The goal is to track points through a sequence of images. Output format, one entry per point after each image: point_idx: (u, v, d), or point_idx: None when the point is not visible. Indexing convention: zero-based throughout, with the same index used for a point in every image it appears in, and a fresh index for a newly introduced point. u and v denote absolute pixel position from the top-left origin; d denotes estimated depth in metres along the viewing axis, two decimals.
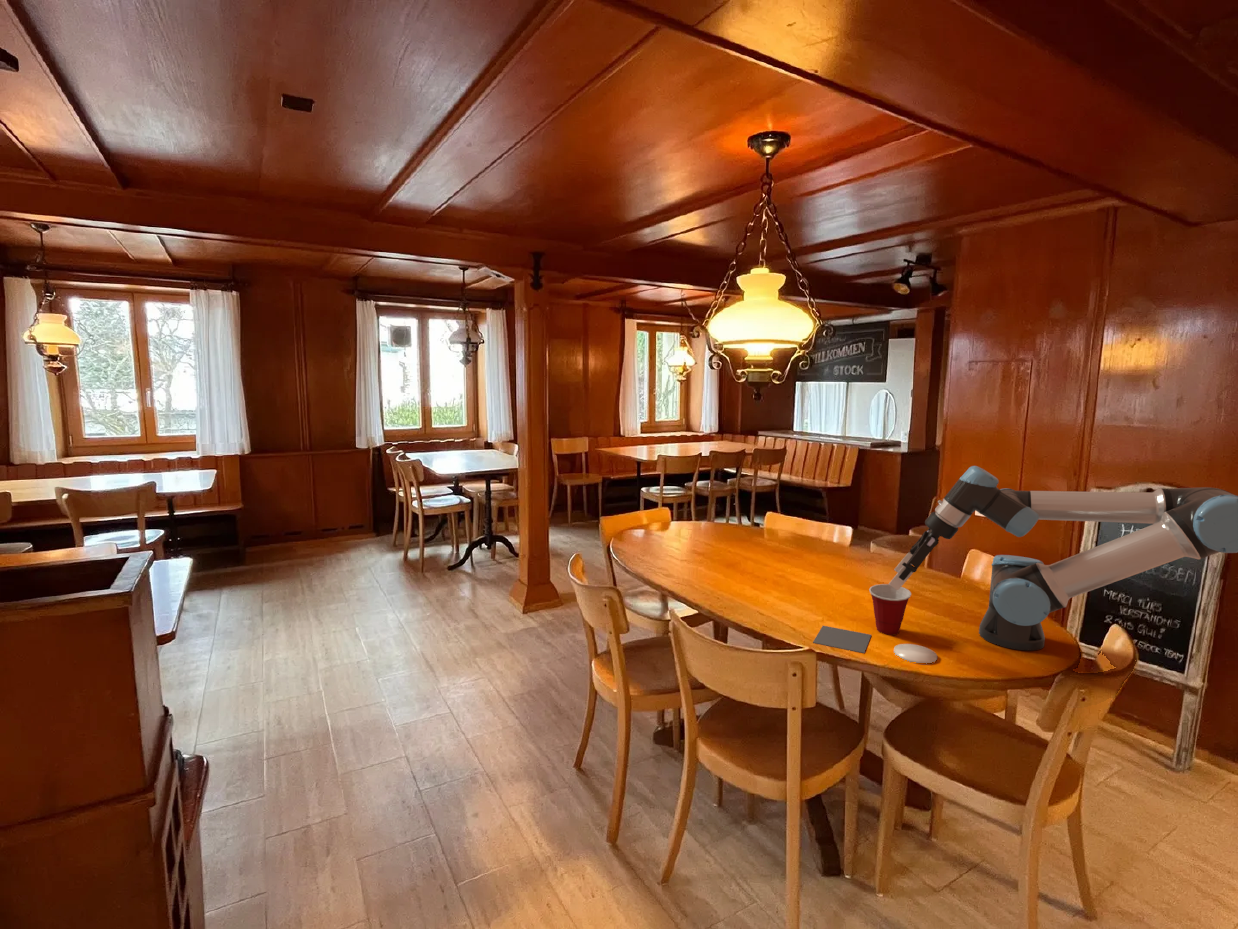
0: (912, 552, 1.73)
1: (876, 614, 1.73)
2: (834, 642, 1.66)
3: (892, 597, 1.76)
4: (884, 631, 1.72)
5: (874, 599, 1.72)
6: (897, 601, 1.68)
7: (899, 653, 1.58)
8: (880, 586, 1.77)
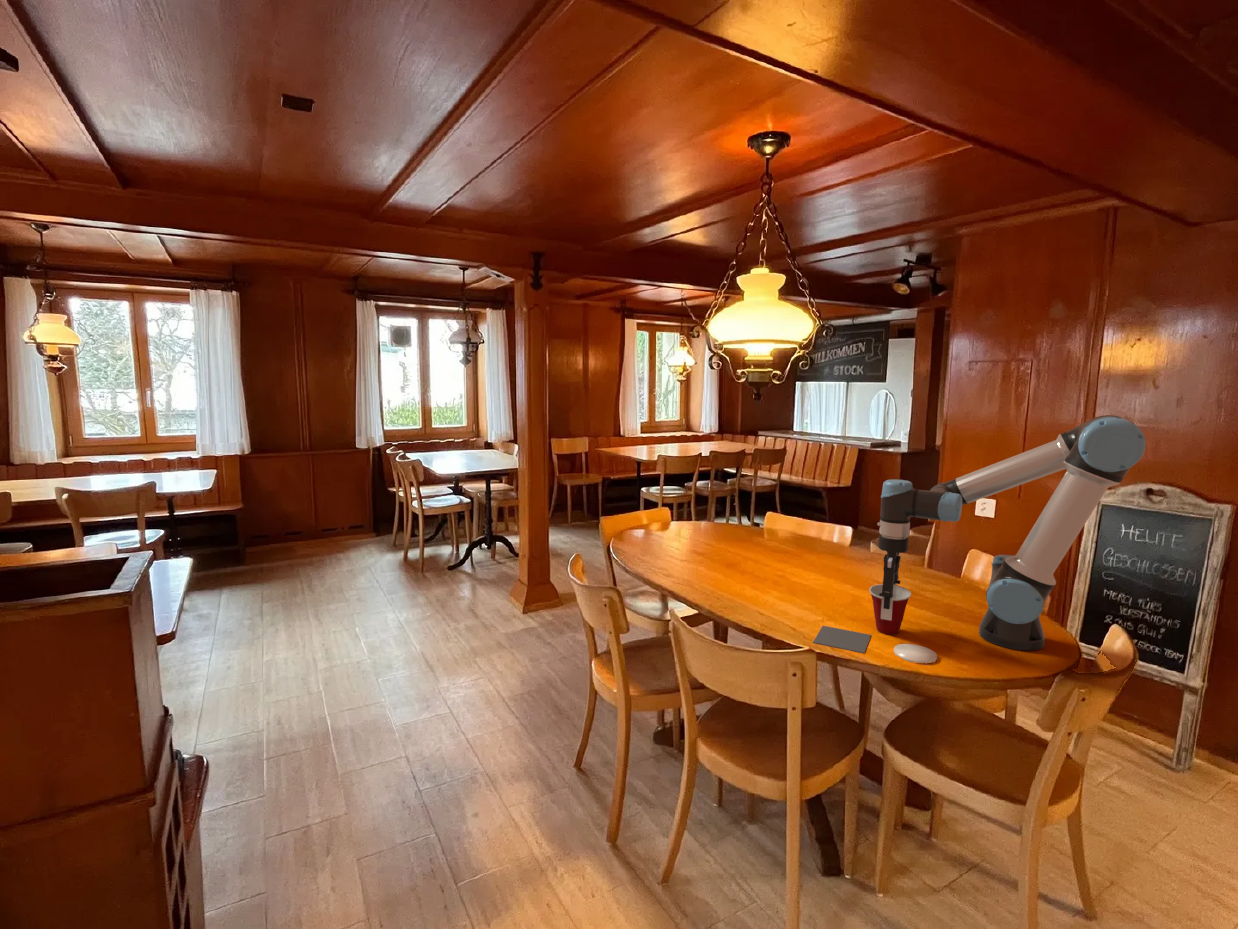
0: None
1: (876, 614, 1.73)
2: (834, 642, 1.66)
3: None
4: (884, 631, 1.72)
5: (874, 599, 1.72)
6: (897, 601, 1.68)
7: (899, 653, 1.58)
8: (880, 586, 1.77)
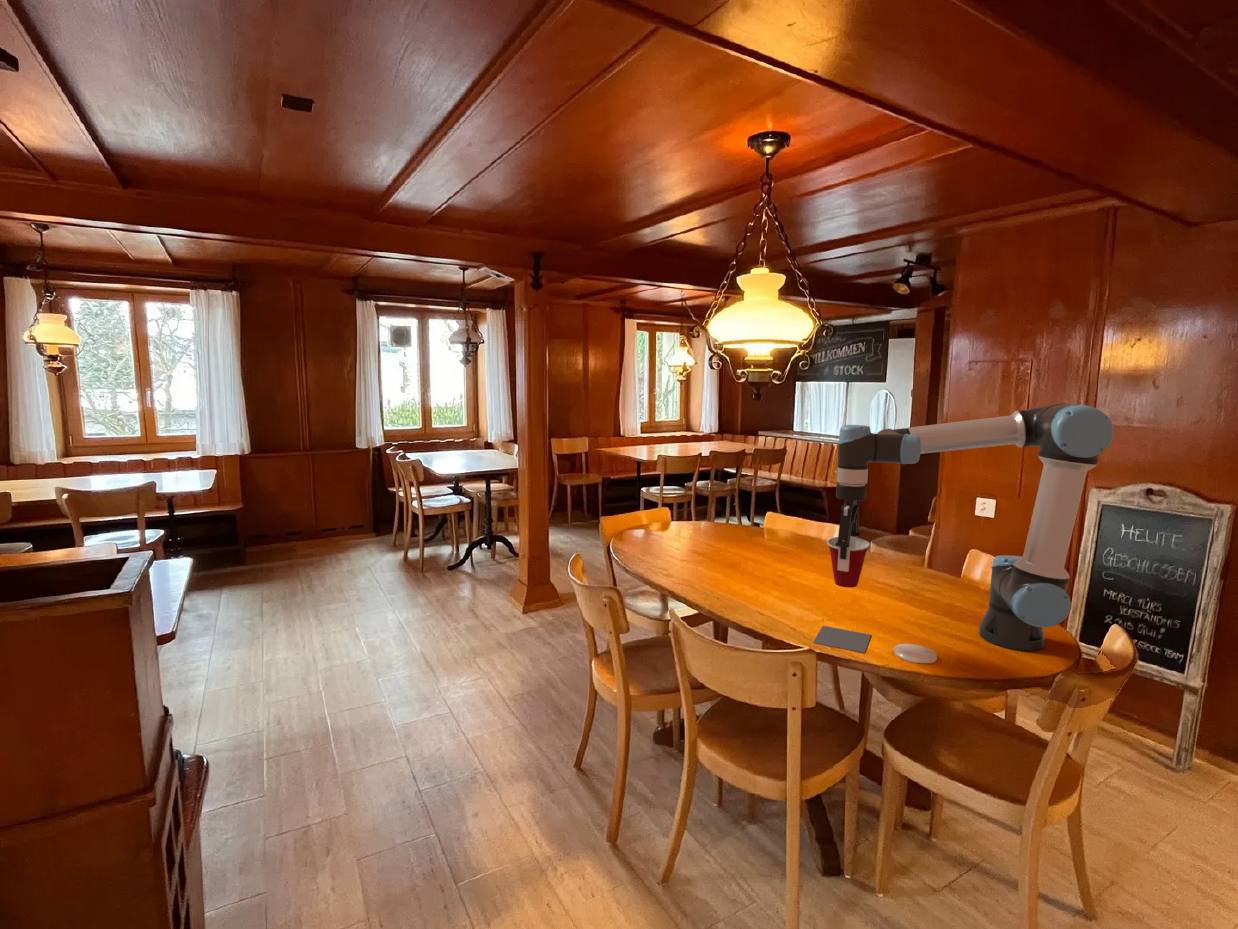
0: None
1: (833, 566, 1.65)
2: (834, 642, 1.66)
3: None
4: (842, 584, 1.64)
5: (831, 550, 1.65)
6: (854, 551, 1.60)
7: (899, 653, 1.58)
8: None
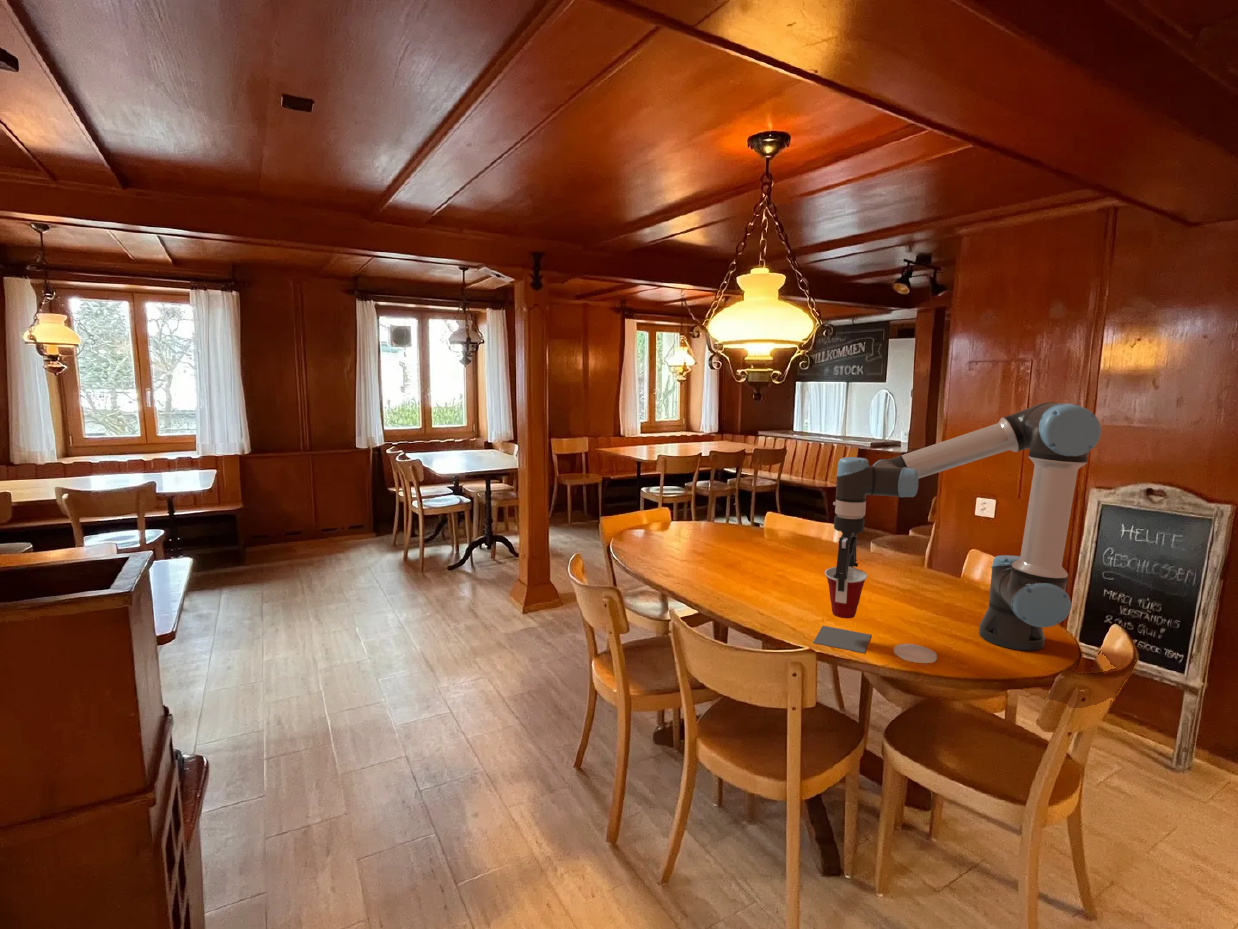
0: None
1: (831, 597, 1.66)
2: (834, 642, 1.66)
3: (849, 580, 1.70)
4: (839, 615, 1.65)
5: (829, 581, 1.66)
6: (852, 583, 1.61)
7: (899, 653, 1.58)
8: None
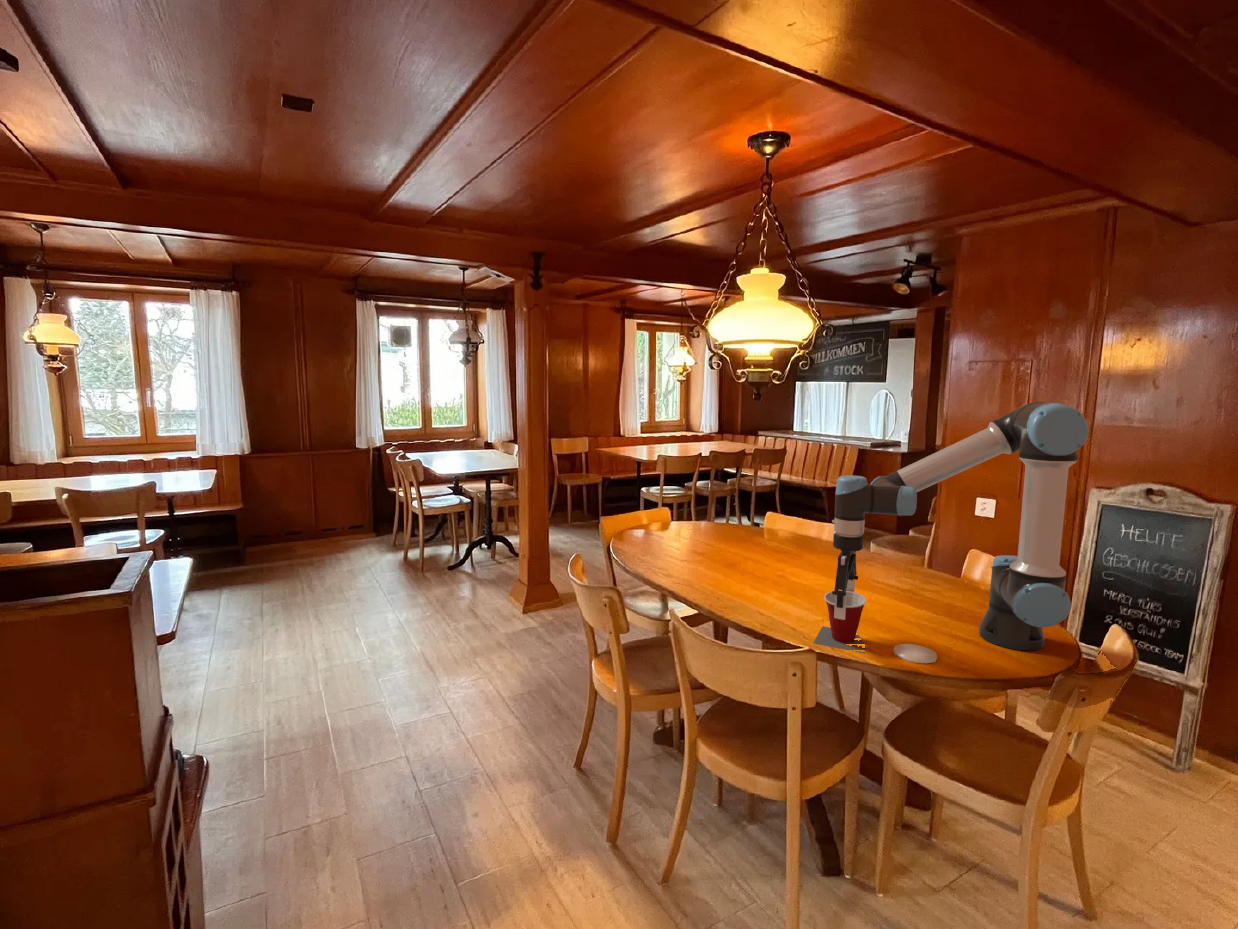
0: (848, 577, 1.73)
1: (831, 621, 1.67)
2: (834, 643, 1.66)
3: (848, 604, 1.71)
4: (839, 639, 1.66)
5: (828, 606, 1.67)
6: (851, 608, 1.62)
7: (899, 653, 1.58)
8: None
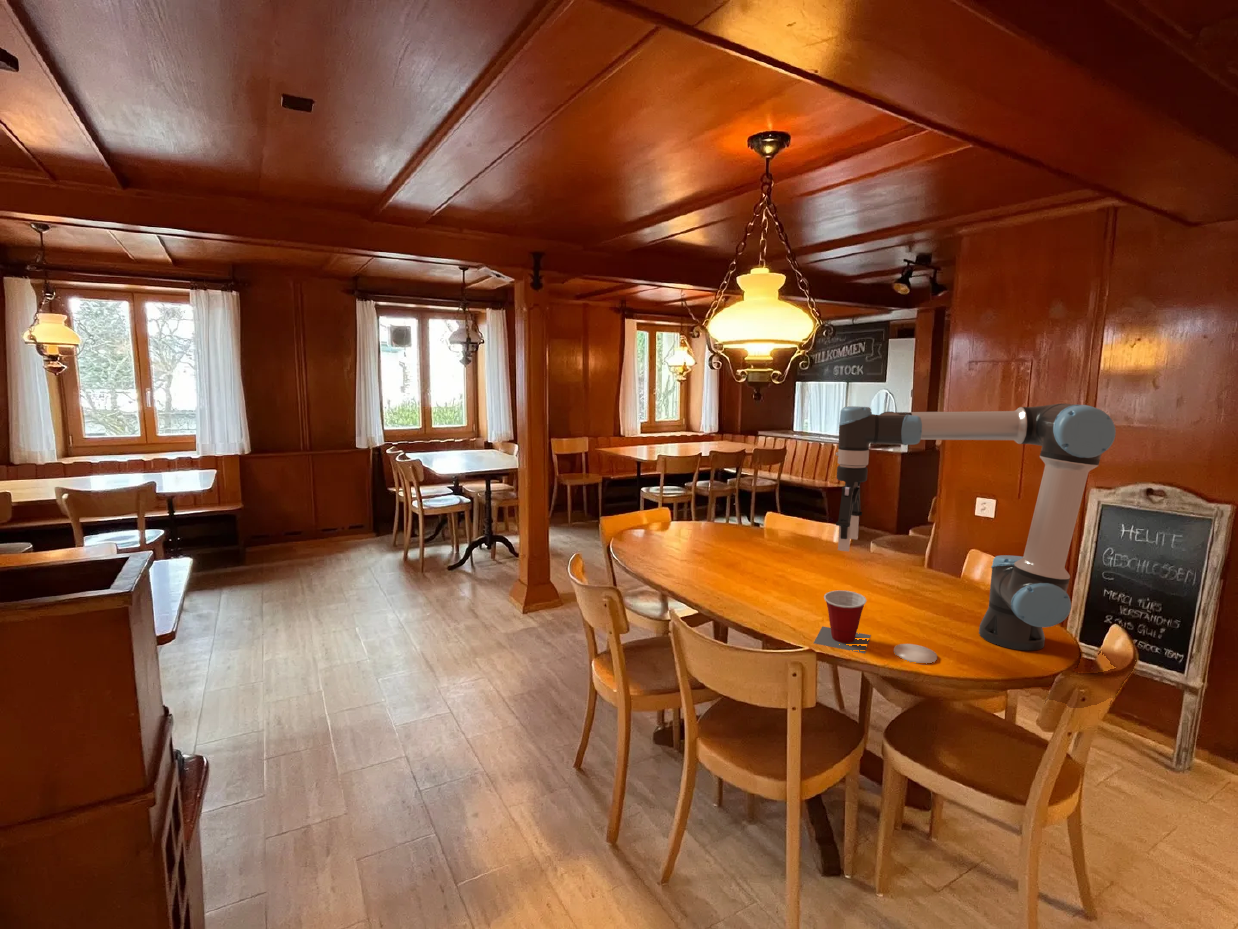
0: (851, 513, 1.70)
1: (831, 621, 1.67)
2: (834, 643, 1.66)
3: (848, 604, 1.71)
4: (839, 639, 1.66)
5: (828, 606, 1.67)
6: (851, 608, 1.62)
7: (899, 653, 1.58)
8: (836, 592, 1.72)
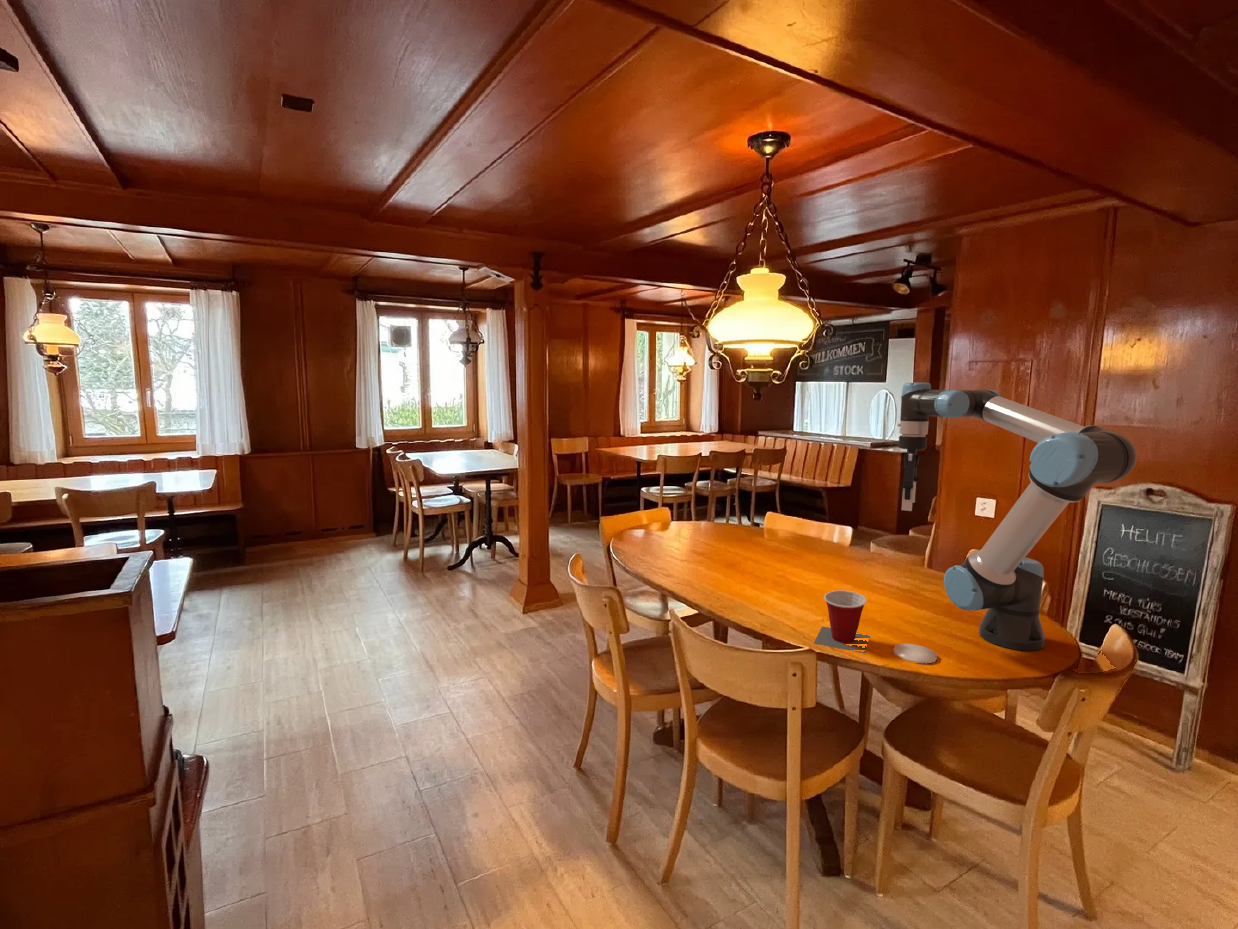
0: None
1: (831, 621, 1.67)
2: (834, 643, 1.66)
3: (848, 604, 1.71)
4: (839, 639, 1.66)
5: (828, 606, 1.67)
6: (851, 608, 1.62)
7: (899, 653, 1.58)
8: (836, 592, 1.72)
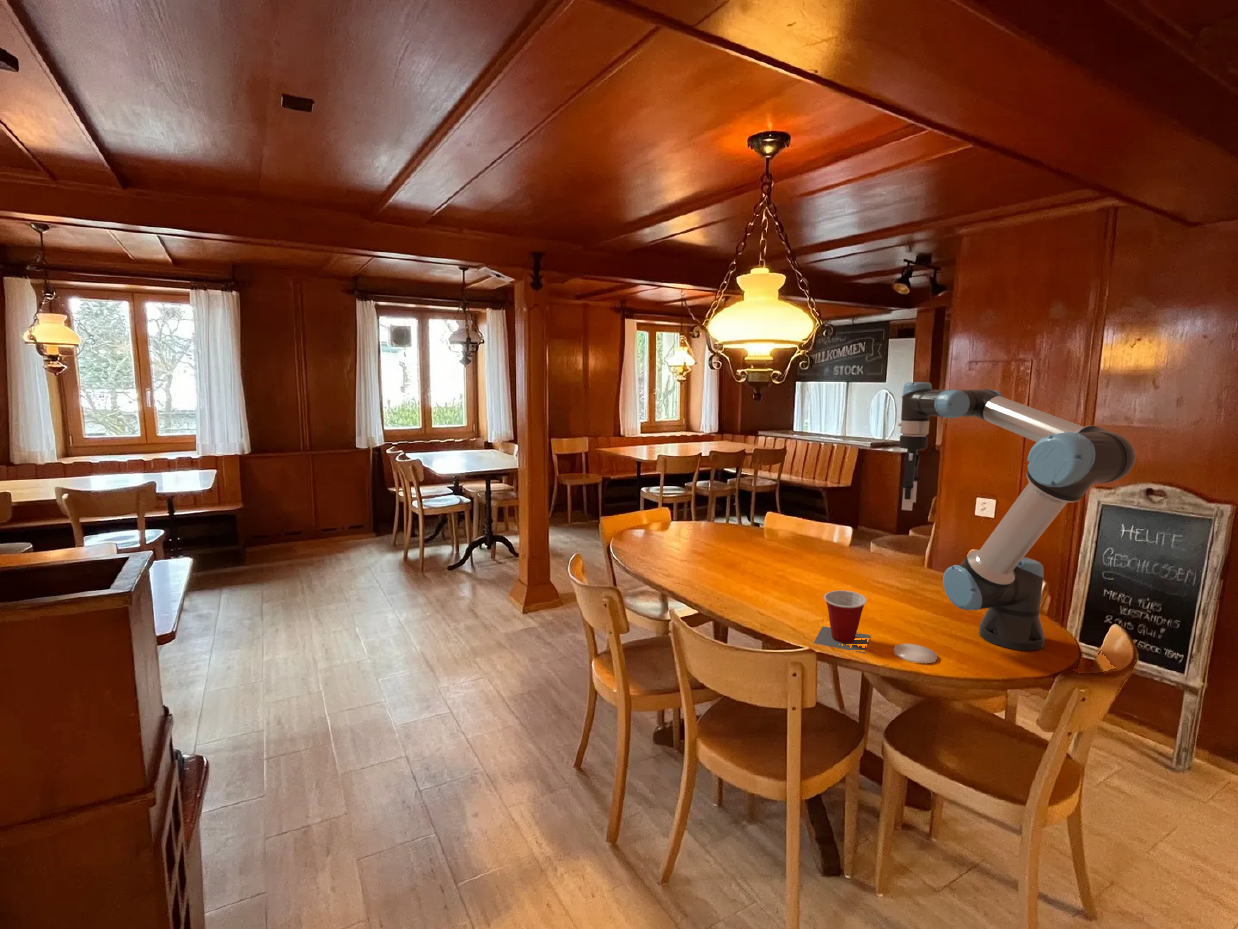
0: None
1: (831, 621, 1.67)
2: (834, 643, 1.66)
3: (848, 604, 1.71)
4: (839, 639, 1.66)
5: (828, 606, 1.67)
6: (851, 608, 1.62)
7: (899, 653, 1.58)
8: (836, 592, 1.72)
